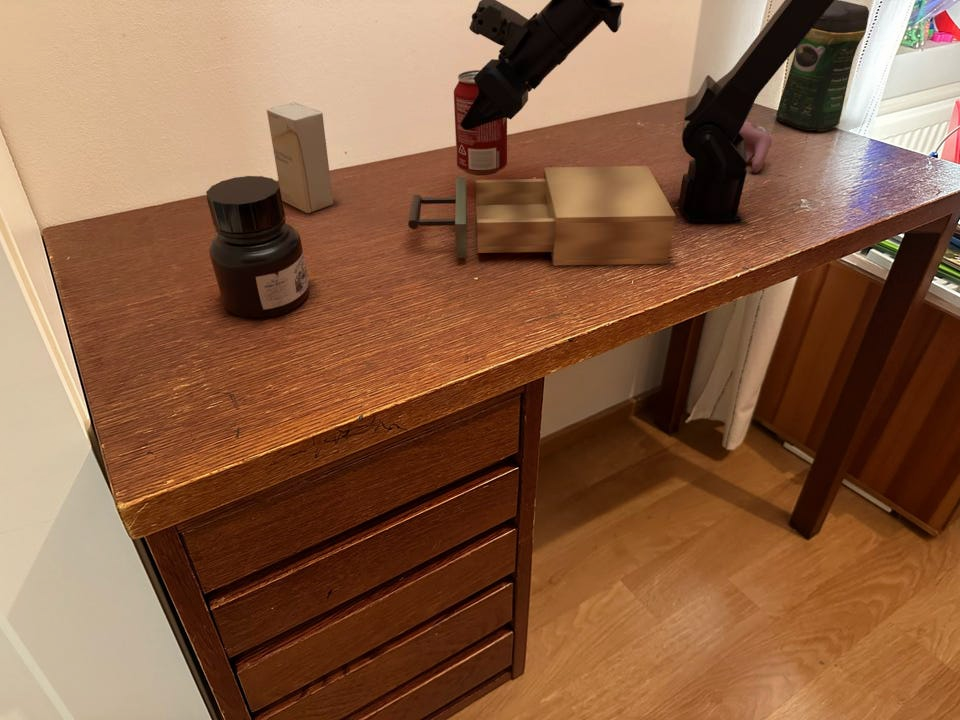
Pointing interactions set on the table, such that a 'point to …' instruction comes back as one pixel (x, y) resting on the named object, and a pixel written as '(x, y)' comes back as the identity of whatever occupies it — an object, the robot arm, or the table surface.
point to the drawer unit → (609, 216)
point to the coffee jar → (823, 68)
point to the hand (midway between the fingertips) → (470, 118)
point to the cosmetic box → (301, 156)
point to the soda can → (477, 133)
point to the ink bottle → (255, 248)
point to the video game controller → (755, 144)
